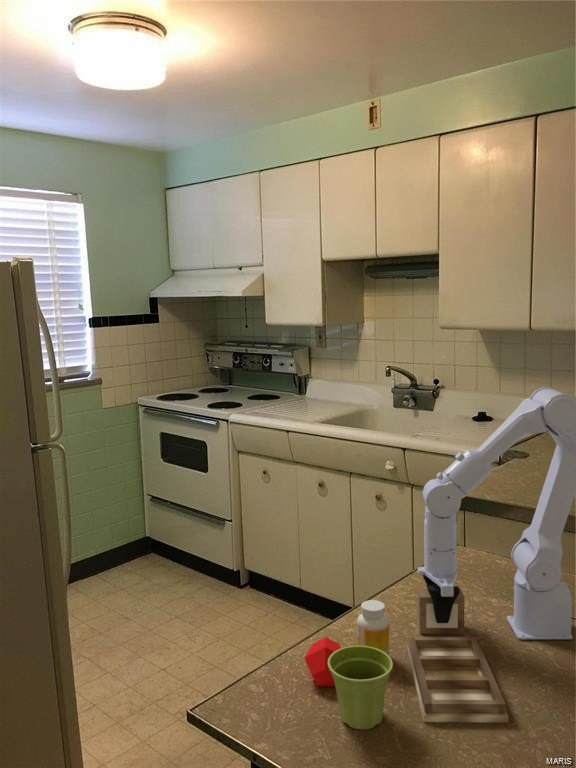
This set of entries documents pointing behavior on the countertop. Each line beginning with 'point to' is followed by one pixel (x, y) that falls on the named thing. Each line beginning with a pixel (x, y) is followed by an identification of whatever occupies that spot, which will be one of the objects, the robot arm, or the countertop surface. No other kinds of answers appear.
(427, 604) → the frame block
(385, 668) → the plant pot
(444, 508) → the robot arm
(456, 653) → the notch rack
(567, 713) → the countertop surface
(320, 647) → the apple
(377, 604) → the supplement bottle
